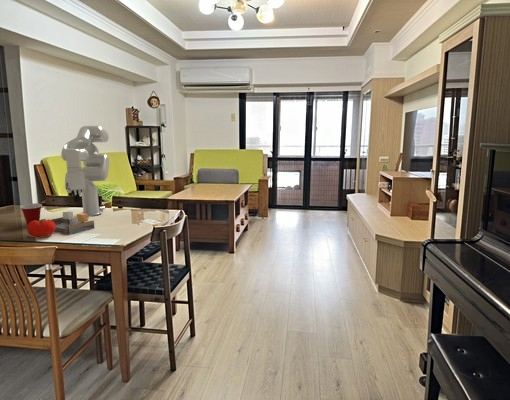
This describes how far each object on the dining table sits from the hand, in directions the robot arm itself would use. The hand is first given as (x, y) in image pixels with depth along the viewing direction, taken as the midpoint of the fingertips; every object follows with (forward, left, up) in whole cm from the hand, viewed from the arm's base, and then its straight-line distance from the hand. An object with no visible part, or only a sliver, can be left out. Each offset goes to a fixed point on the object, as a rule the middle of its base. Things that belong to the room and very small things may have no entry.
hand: (76, 201), depth 204 cm
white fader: (+6, 0, -10) cm, 12 cm away
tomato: (+26, +9, -14) cm, 31 cm away
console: (+10, +6, -13) cm, 18 cm away
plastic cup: (+15, -19, -13) cm, 28 cm away
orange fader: (+6, +13, -10) cm, 17 cm away
